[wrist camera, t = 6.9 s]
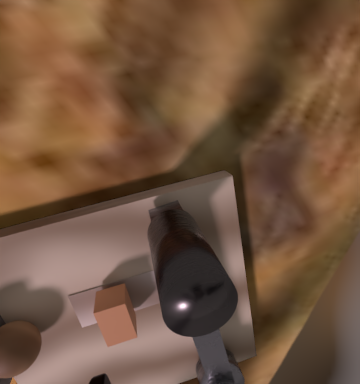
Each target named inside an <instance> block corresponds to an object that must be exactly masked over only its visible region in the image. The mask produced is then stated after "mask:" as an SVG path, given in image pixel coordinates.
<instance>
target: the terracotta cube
mask: <svg viewBox="0 0 360 384" xmlns="http://www.w3.org/2000/svg"><path fill="white" fill-rule="evenodd" d="M93 314H94V316H95V319H96V321H97V323H98V326H99V328H100V330H101V333H102V335H103V337H104V340H105V342H106V344H107V347H110V346H113V345H116V344H119V343H122V342H125V341H128V340H131V339H134V338H137V324H136V314H135V311H134V308H133V305H132V302H131V299H130V297H129V294H128V291H127V288H126V285H125V283H123V284H120V285H117V286H113V287H110V288H107V289H104V290H100V291H97V292H96V297H95V304H94V312H93Z"/></svg>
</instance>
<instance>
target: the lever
mask: <svg viewBox="0 0 360 384" xmlns="http://www.w3.org/2000/svg"><path fill="white" fill-rule="evenodd" d="M148 211H149V215H150V219H151V223H150V225H149V227H148V232H147V236H148V242H149V247H150V253H151V258H152V264H153V269H154V274H155V280H156V285H157V290H158V296H159V301H160V306H161V312H162V317H163V320H164V322H165V324H166V326H167V327H168V328H169V329H170V330H171V331H173V332H174V333H176V334H178V335H181V336H186V337H192V338H193V341H194V344H195V346H196V349H197V352H198V355H199V357H200V359H199V360H198V362H197V364H196V374H197V377H198V381H199V384H244V382H245V381H244V377H243V375H242V373H241V370H240V368H239V366H238V363H237V361H236V359H235V357H234V354H233V353H232V352H231V351H229V350H227V349H225V347H224V344H223V340H222V337H221V334H220V330H219V328H221V327H222V326H223V325H224V324H226V323H227V322H228V320H229V319H230V318H231V317H232V315H233V314H234V312H235V310H236V307H237V303H238V293H237V290H236V288H235V286H234V284H233V282H232V281H231V279H230V277H229V276H228V274H227V272H226V271H225V269H224V267H223V266H222V264H221V262H220V261H219V259H218V257H217V256H216V254H215V252H214V251H213V249H212V247H211V246H210V244H209V243H208V241H207V239H206V238H205V236H204V234H203V233H202V231H201V229H200V228H199V226H198V224H197V223H196V221H195V219H194V218H193V217H192V216H191V215H190V214H189V213H188V212H186V211H183V209H182V207H181V205H180V203H179V202H178V200H176V201H173V202H171V203H168V204H165V205H162V206H159V207H156V208H153V209H150V210H148Z"/></svg>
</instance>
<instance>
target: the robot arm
mask: <svg viewBox="0 0 360 384" xmlns="http://www.w3.org/2000/svg"><path fill="white" fill-rule="evenodd" d="M89 384H111V382H110V380H109V378H108V376H107V374H106V373H103V374H100V375H97V376H94V377H93V378H92V379H91V380H90V382H89Z"/></svg>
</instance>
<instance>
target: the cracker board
mask: <svg viewBox="0 0 360 384" xmlns="http://www.w3.org/2000/svg"><path fill="white" fill-rule="evenodd" d="M176 200H178V202H179V203H180V205H181V207H182V209H183V211H186V212H188V213H189V214H190V215H191V216H192V217H193V218H194V219H195V221H196V223H197V224H198V226H199V228H200V229H201V231H202V233H203V234H204V236H205V238H206V239H207V241H208V243H209V244H210V246H211V247H212V249H213V251H214V252H215V254H216V256H217V257H218V259H219V261H220V262H221V264H222V266H223V267H224V269H225V271H226V272H227V274H228V276H229V277H230V279H231V281H232V282H233V284H234V286H235V288H236V290H237V293H238V303H237V307H236V310H235V312H234V314H233V315H232V317H231V318H230V319H229V320H228V322H227V323H226V324H224V325H223V326H222V327H221V328H219V330H220V334H221V337H222V340H223V344H224V347H225V349H227V350H229V351H231V352H232V353H233V354H234V357H235V359H236V361H237V363H238V362H240V361H243V360H246V359H249V358H252V357H254V356H257V355H256V348H255V340H254V333H253V325H252V318H251V310H250V303H249V295H248V288H247V280H246V273H245V265H244V258H243V250H242V243H241V235H240V228H239V220H238V213H237V205H236V198H235V190H234V183H233V176H232V175H231V174H230V173H228V172H227V171H225V170H223V171H219V172H215V173H212V174H208V175H204V176H200V177H196V178H193V179H189V180H185V181H181V182H177V183H174V184H170V185H166V186H162V187H158V188H155V189H151V190H147V191H143V192H139V193H136V194H132V195H128V196H124V197H120V198H117V199H113V200H109V201H105V202H101V203H98V204H94V205H90V206H86V207H82V208H79V209H75V210H71V211H67V212H63V213H60V214H56V215H52V216H48V217H44V218H41V219H37V220H33V221H29V222H25V223H22V224H18V225H14V226H10V227H6V228H3V229H0V384H10V382H11V379H12V377H14V379H15V380H16V382H17V383H18V384H89V382H90V380H91V379H92V378H93V377H94V376H97V375H100V374H103V373H106V374H107V376H108V378H109V380H110V382H111V384H179V383H182V382H185V381H188V380H190V379H193V378H196V377H197V374H196V364H197V362H198V360H199V359H200V357H199V355H198V352H197V349H196V346H195V344H194V341H193V338H192V337H186V336H181V335H178V334H176V333H174V332H173V331H171V330H170V329H169V328H168V327H167V326H166V324H165V322H164V320H163V317H162V312H161V306H160V301H159V296H158V290H157V285H156V280H155V274H154V269H153V264H152V258H151V253H150V247H149V242H148V236H147V232H148V227H149V225H150V223H151V219H150V215H149V211H148V210H150V209H153V208H156V207H159V206H162V205H165V204H168V203H171V202H173V201H176ZM123 283H125V285H126V288H127V291H128V294H129V297H130V299H131V302H132V305H133V308H134V311H135V314H136V324H137V338H134V339H131V340H128V341H125V342H122V343H119V344H116V345H113V346H110V347H107V344H106V342H105V340H104V337H103V335H102V333H101V330H100V328H99V326H98V323H97V321H96V319H95V316H94V314H93V312H94V304H95V297H96V292H97V291H100V290H104V289H107V288H110V287H113V286H117V285H120V284H123Z"/></svg>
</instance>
